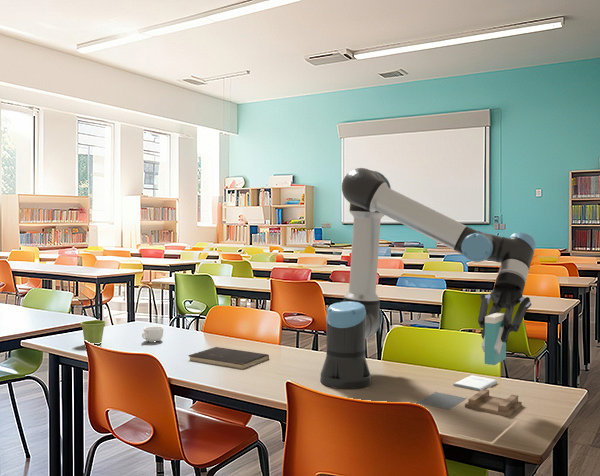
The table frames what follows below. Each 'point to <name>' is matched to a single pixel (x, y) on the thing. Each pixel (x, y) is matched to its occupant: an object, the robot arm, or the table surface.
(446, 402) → the mat
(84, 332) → the plant pot
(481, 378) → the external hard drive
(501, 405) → the rack
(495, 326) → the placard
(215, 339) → the table surface
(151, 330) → the teacup
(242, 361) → the hardcover book
